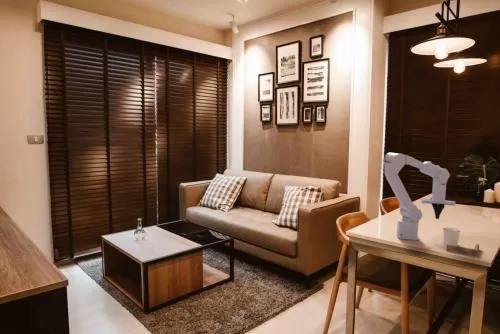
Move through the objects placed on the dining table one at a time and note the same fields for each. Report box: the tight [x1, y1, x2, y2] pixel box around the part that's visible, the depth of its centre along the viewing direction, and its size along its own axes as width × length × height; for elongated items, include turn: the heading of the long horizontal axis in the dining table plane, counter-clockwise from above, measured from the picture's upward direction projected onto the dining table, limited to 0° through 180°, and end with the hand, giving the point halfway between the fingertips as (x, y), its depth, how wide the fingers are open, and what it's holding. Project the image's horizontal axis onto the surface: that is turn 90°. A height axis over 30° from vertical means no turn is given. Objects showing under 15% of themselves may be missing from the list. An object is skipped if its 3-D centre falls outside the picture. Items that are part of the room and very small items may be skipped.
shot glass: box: [442, 227, 461, 246], centre depth 159 cm, size 7×7×7 cm
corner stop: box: [446, 243, 480, 257], centre depth 147 cm, size 9×16×2 cm, turn 95°
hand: (437, 218), depth 169 cm, fingers closed
